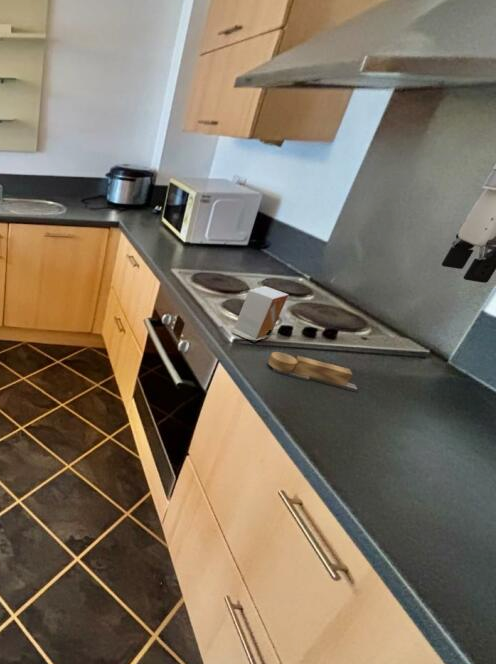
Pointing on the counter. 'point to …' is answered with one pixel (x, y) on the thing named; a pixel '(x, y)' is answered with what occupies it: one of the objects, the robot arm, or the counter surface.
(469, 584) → the counter surface
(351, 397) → the counter surface
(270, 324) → the small box
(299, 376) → the serving fork
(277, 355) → the wooden spoon
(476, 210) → the robot arm
